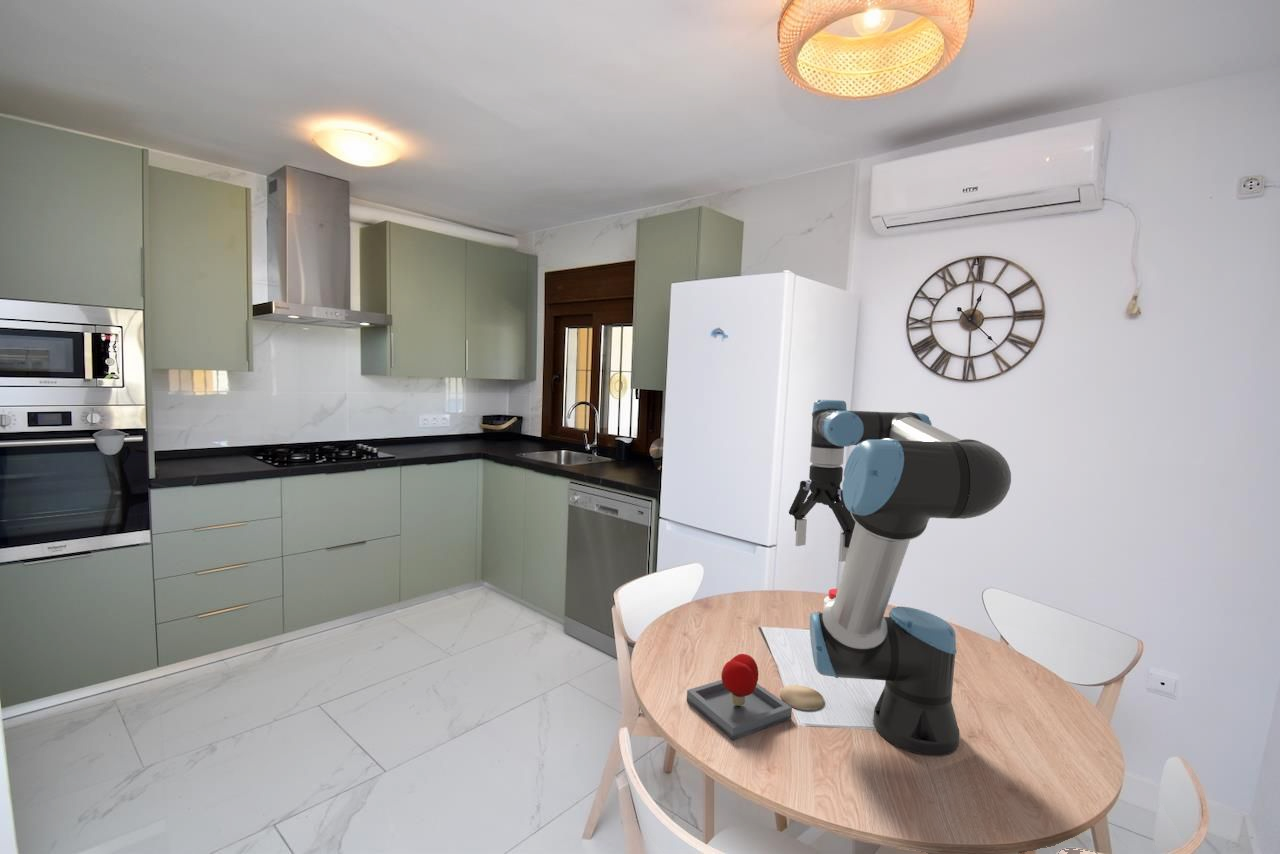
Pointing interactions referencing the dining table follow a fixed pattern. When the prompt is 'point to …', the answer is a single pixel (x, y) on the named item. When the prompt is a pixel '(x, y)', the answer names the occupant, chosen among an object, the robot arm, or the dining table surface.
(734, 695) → the red rounded piece
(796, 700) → the cork coaster
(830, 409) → the robot arm
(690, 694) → the socket dish
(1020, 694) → the dining table surface
